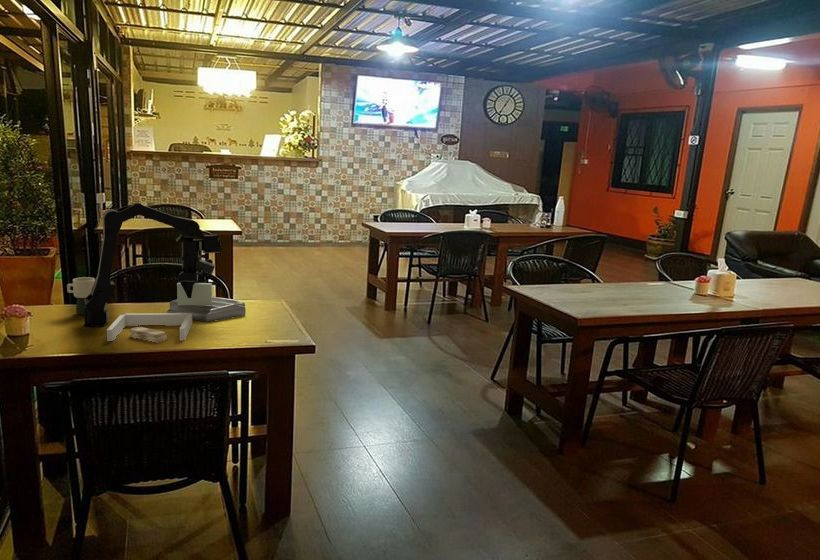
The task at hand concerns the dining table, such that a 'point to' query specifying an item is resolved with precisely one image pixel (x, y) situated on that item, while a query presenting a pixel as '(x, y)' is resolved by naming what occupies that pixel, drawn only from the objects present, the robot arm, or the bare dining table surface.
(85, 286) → the character mug
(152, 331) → the offcut stack
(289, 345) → the dining table surface
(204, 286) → the pale green rectangular slab
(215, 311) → the emblem
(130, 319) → the rack
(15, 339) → the dining table surface
